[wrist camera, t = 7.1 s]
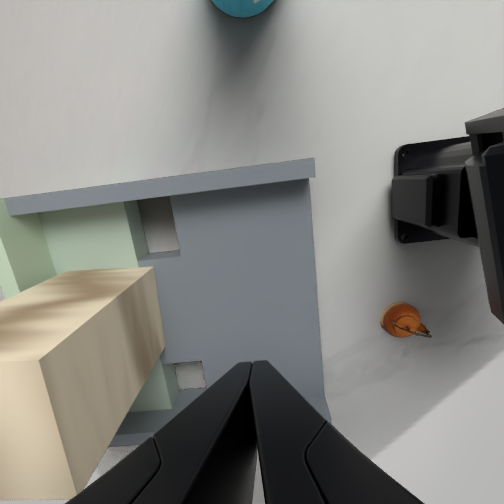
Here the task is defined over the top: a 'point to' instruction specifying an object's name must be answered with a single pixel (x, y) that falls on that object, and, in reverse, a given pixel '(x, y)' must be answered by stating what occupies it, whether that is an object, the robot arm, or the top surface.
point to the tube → (242, 7)
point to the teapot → (402, 321)
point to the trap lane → (191, 272)
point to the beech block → (71, 375)
